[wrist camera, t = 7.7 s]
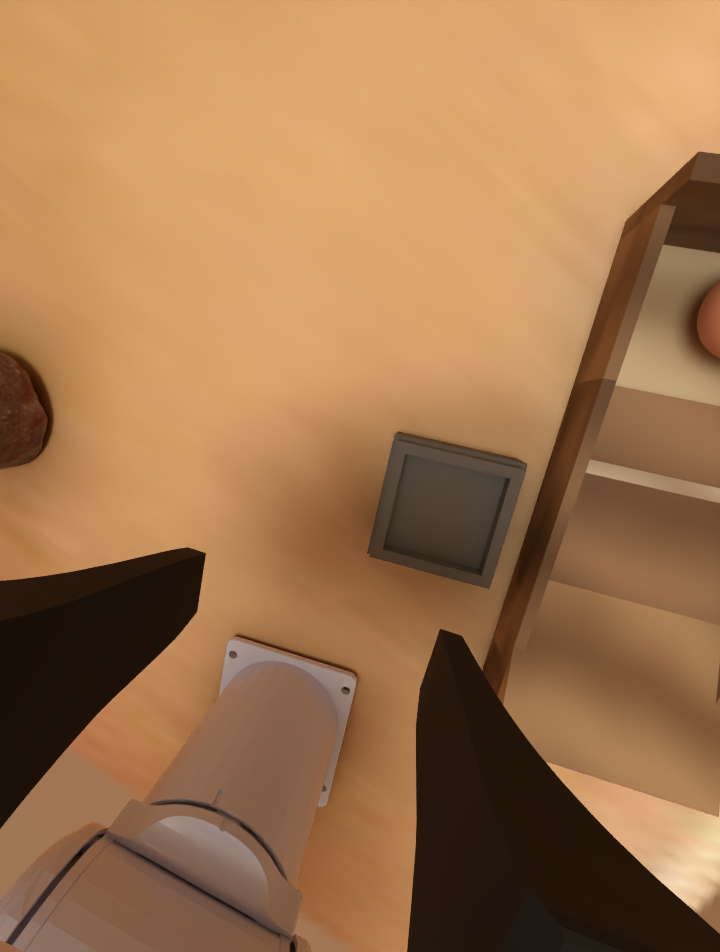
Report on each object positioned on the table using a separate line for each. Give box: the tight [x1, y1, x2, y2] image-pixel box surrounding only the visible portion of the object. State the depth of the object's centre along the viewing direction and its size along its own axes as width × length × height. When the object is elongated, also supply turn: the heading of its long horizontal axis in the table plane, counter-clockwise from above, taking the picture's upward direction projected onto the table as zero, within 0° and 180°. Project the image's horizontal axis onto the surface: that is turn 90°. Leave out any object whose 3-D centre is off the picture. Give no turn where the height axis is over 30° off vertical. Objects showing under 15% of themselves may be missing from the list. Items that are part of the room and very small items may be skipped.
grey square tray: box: [367, 432, 527, 589], centre depth 18 cm, size 6×6×3 cm
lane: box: [482, 152, 720, 817], centre depth 16 cm, size 23×9×4 cm, turn 168°
